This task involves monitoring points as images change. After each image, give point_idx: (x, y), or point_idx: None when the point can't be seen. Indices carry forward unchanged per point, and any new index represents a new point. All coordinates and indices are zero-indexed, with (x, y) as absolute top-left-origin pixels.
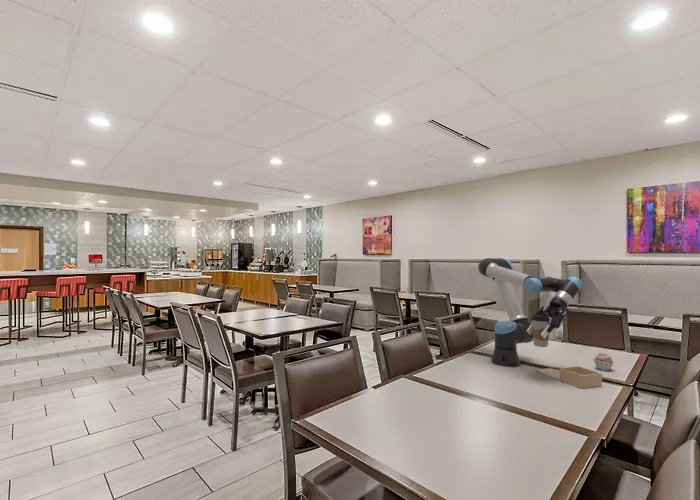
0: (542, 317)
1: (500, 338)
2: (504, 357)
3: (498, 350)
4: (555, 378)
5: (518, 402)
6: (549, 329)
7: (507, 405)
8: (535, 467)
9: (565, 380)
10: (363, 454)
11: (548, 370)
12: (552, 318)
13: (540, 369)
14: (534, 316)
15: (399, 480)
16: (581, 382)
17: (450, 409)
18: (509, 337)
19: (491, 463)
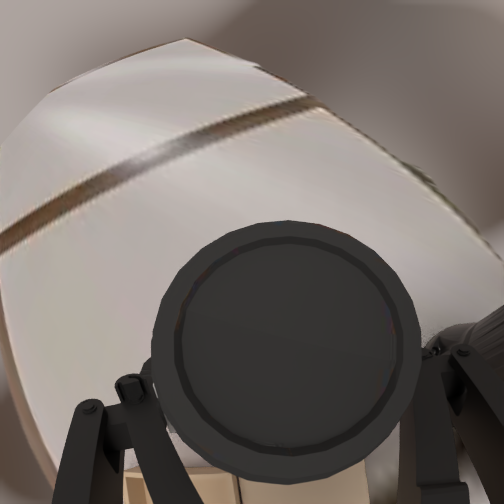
0: (176, 283)
1: (500, 307)
2: (446, 349)
3: (472, 325)
4: None
5: (115, 208)
6: (143, 368)
7: (115, 182)
8: (16, 148)
9: (207, 468)
10: (109, 64)
11: (346, 493)
12: (165, 474)
13: (363, 469)
14: (285, 227)
15: (71, 79)
16: (134, 468)
17: (145, 111)
18: (498, 341)
19: (41, 122)
